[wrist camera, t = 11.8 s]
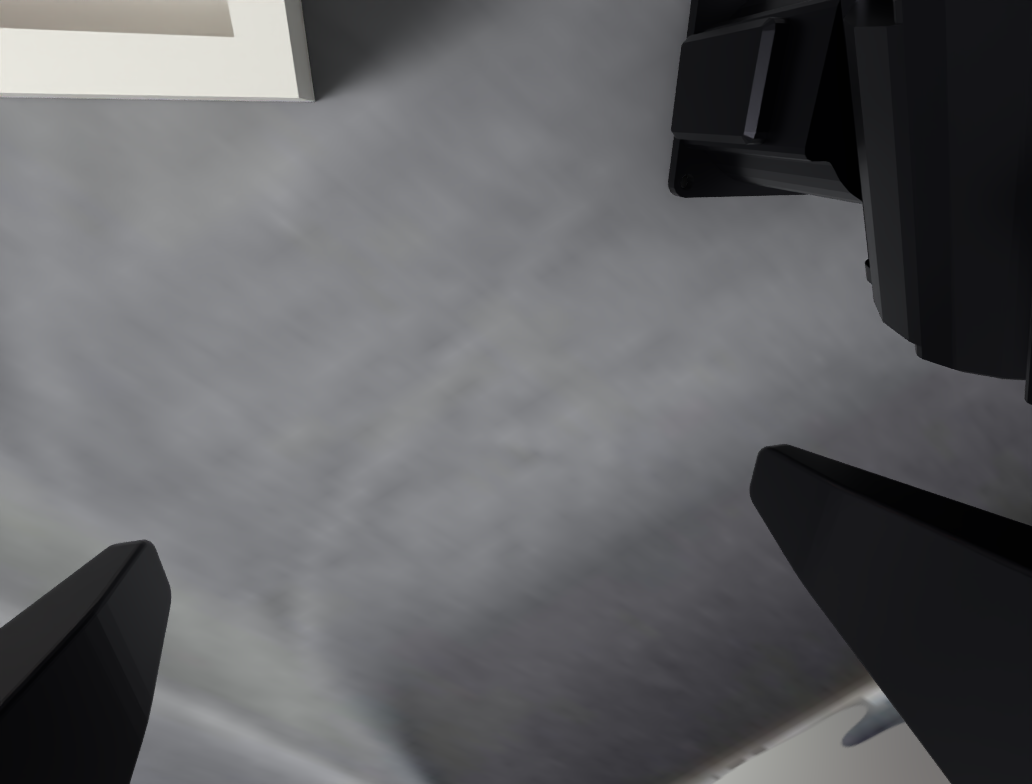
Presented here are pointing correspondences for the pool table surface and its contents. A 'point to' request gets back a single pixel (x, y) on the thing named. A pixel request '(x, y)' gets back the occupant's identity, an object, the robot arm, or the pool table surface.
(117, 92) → the bin
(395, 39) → the pool table surface
